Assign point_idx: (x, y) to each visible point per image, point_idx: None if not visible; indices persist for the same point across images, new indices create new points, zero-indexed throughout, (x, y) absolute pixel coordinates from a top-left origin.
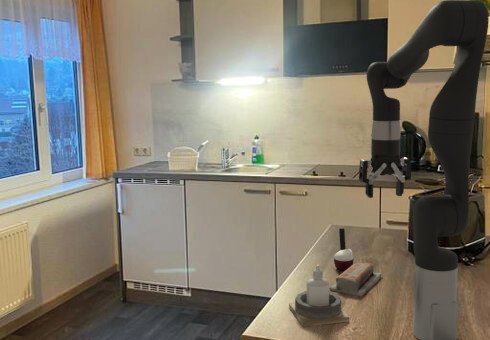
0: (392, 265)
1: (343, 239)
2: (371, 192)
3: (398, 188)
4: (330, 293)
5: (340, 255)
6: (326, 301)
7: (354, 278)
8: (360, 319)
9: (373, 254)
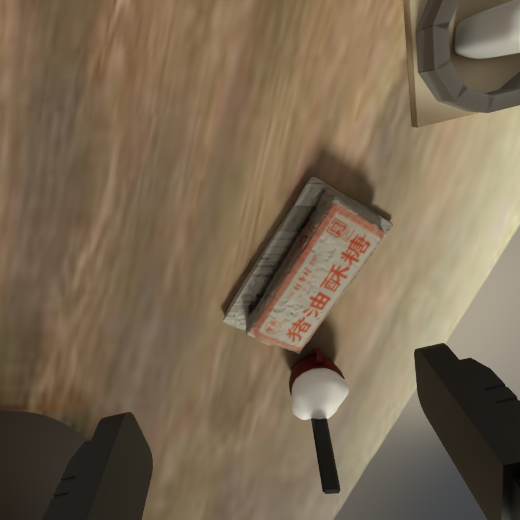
0: (176, 391)
1: (322, 452)
2: (462, 379)
3: (115, 495)
4: (452, 79)
5: (335, 383)
6: (483, 12)
7: (334, 219)
8: None
9: (211, 460)
